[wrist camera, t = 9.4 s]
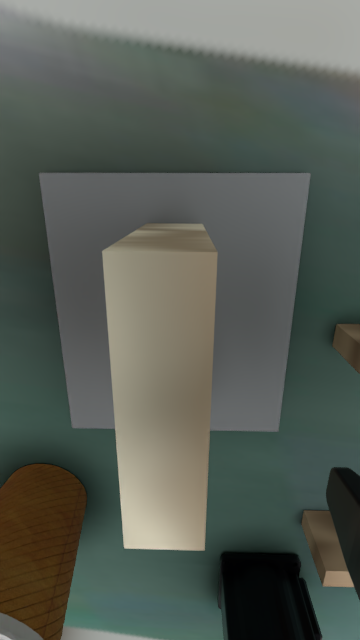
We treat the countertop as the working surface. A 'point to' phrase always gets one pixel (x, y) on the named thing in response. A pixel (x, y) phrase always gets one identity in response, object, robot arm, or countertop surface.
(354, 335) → the light wood rack
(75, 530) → the disposable coffee cup
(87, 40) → the countertop surface
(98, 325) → the rubber mat
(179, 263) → the cream flat block
